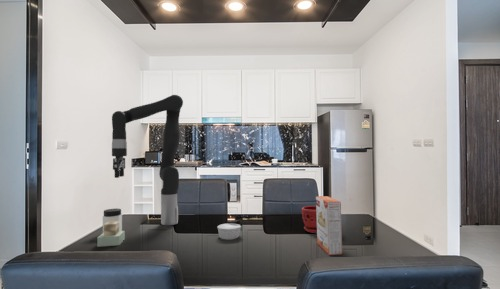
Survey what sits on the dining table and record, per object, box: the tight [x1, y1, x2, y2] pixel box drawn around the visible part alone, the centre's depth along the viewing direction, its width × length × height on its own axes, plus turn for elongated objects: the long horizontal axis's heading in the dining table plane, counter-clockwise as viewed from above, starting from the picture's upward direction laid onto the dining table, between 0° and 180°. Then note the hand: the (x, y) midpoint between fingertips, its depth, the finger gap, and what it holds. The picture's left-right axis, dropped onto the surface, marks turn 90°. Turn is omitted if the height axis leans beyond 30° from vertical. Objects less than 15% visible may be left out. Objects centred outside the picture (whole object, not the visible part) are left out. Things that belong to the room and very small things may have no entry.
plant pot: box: [301, 205, 317, 234], centre depth 144 cm, size 13×13×12 cm
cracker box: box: [315, 195, 343, 256], centre depth 117 cm, size 14×6×21 cm, turn 5°
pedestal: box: [96, 230, 126, 248], centre depth 129 cm, size 9×9×4 cm
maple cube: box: [104, 221, 119, 236], centre depth 129 cm, size 5×5×5 cm
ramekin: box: [216, 222, 242, 241], centre depth 136 cm, size 11×11×5 cm
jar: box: [102, 208, 123, 234], centre depth 145 cm, size 9×8×12 cm
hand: (119, 177), depth 155 cm, fingers open, 8 cm apart
